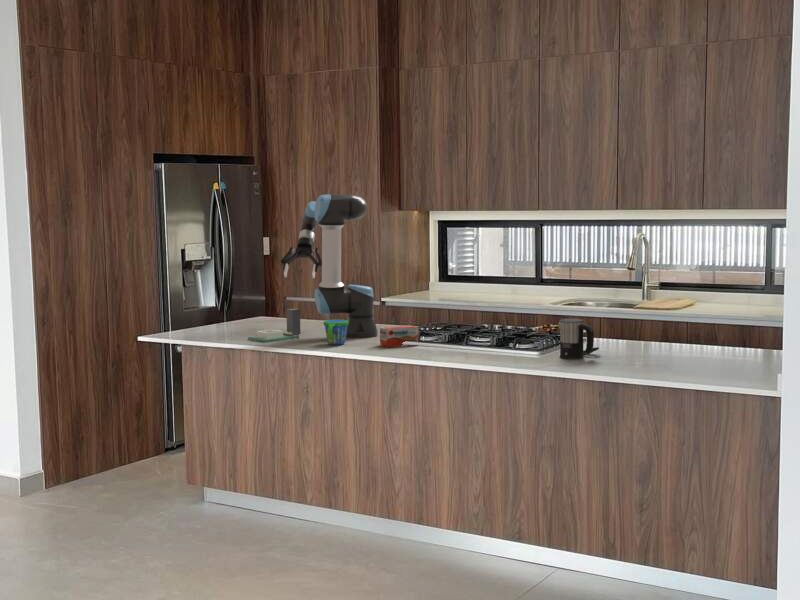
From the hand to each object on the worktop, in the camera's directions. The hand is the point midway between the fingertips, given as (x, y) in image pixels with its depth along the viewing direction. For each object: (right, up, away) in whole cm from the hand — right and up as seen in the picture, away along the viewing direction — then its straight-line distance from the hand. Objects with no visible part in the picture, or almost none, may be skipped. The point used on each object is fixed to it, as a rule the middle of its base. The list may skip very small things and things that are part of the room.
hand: (299, 276), depth 455 cm
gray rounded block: (-1, -27, -9) cm, 29 cm away
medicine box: (+48, -31, -44) cm, 72 cm away
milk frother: (+118, -34, -78) cm, 146 cm away
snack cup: (+20, -31, -39) cm, 53 cm away
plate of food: (+122, -27, -12) cm, 126 cm away
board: (-9, -29, -21) cm, 37 cm away
